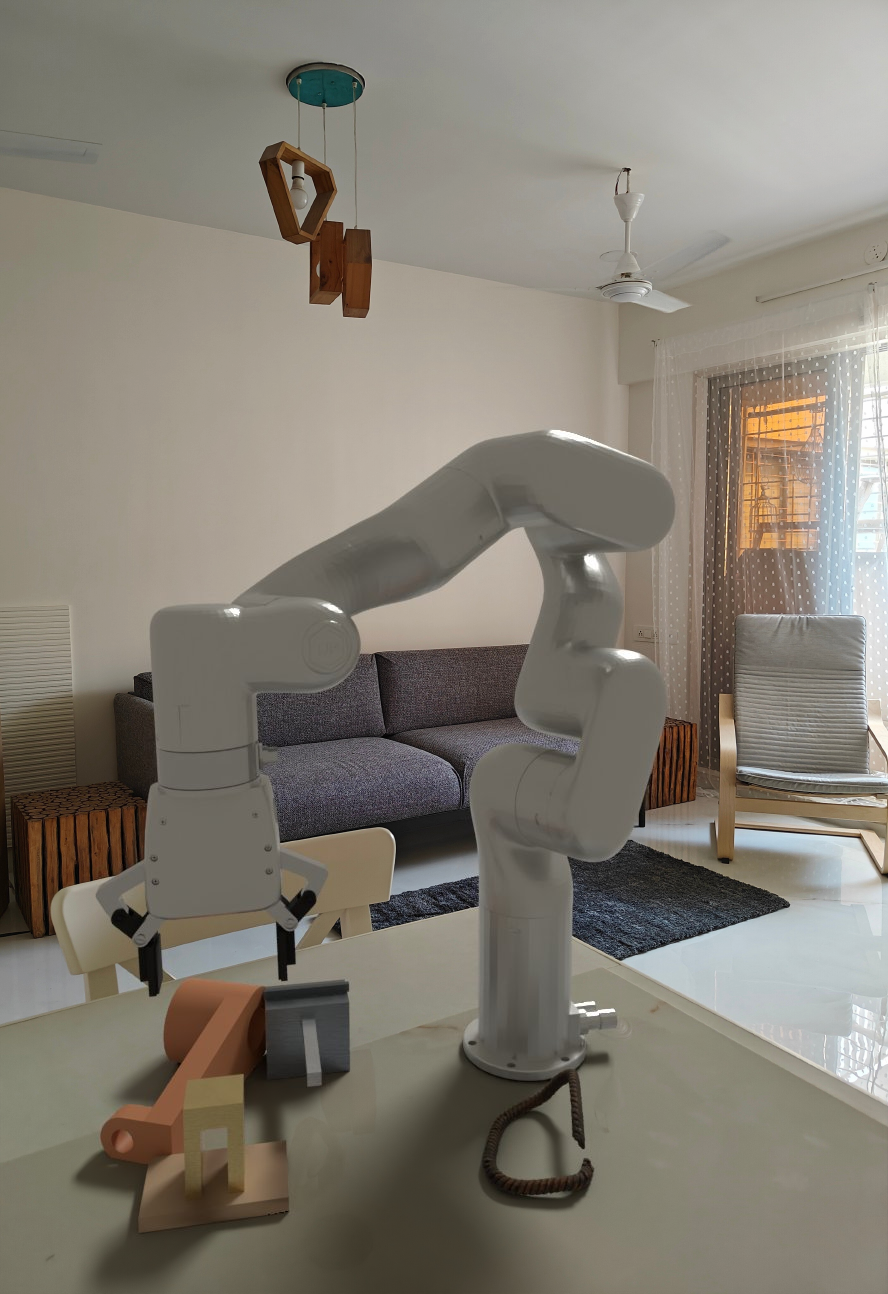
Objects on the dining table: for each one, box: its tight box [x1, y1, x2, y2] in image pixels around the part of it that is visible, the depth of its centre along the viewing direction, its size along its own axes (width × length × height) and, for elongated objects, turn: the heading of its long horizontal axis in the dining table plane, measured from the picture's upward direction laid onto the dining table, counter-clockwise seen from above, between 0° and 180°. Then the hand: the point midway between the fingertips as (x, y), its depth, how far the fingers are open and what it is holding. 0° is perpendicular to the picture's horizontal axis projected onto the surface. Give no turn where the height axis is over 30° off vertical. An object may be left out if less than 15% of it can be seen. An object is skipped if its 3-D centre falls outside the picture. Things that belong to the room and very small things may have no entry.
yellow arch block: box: [183, 1074, 246, 1200], centre depth 70 cm, size 4×4×7 cm
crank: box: [100, 977, 267, 1165], centre depth 84 cm, size 20×8×8 cm, turn 166°
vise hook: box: [264, 979, 351, 1087], centre depth 85 cm, size 8×16×8 cm, turn 12°
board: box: [137, 1140, 290, 1234], centre depth 71 cm, size 11×7×1 cm, turn 102°
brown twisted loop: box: [482, 1068, 595, 1196], centre depth 76 cm, size 13×5×10 cm
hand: (220, 980), depth 70 cm, fingers open, 9 cm apart
